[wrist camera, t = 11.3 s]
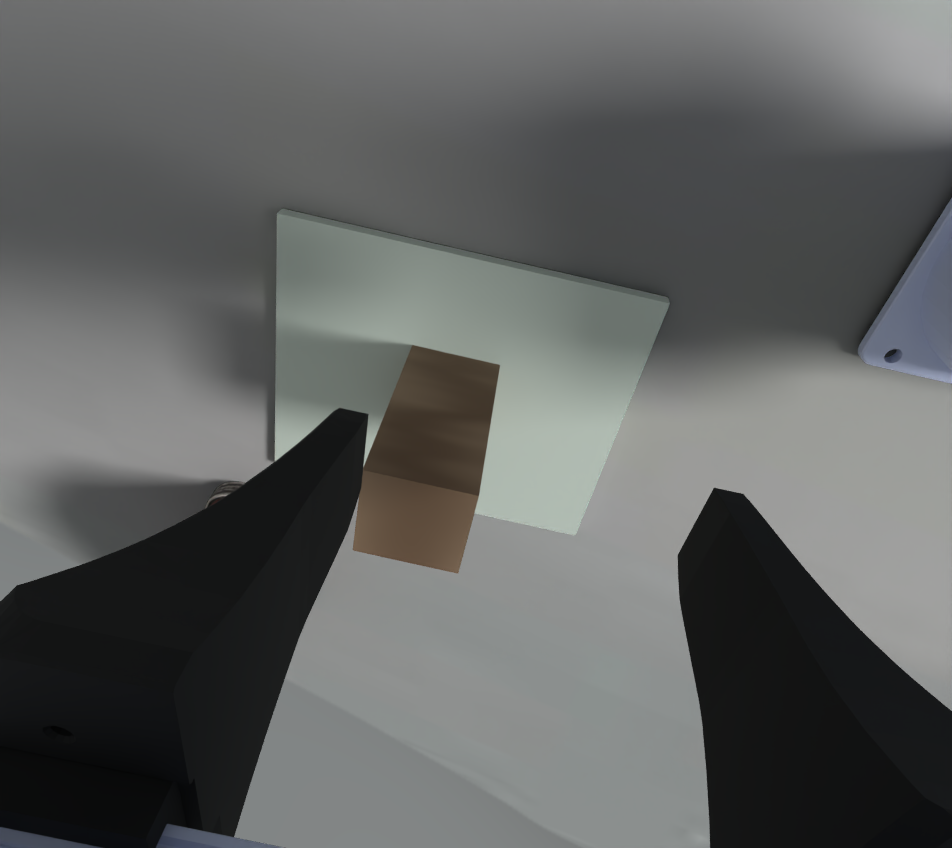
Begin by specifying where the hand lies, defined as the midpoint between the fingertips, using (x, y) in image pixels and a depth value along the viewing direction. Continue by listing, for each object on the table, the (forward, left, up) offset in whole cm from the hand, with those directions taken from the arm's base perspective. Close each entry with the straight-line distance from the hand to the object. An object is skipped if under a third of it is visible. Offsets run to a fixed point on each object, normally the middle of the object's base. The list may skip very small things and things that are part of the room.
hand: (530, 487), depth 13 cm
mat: (+2, +5, -10) cm, 12 cm away
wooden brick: (+2, +5, -10) cm, 11 cm away
